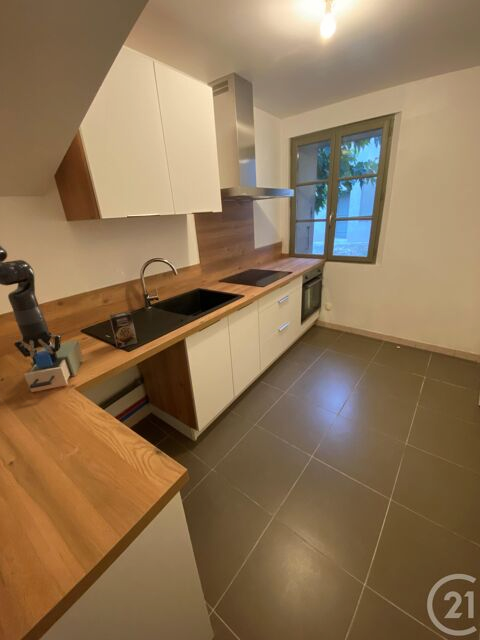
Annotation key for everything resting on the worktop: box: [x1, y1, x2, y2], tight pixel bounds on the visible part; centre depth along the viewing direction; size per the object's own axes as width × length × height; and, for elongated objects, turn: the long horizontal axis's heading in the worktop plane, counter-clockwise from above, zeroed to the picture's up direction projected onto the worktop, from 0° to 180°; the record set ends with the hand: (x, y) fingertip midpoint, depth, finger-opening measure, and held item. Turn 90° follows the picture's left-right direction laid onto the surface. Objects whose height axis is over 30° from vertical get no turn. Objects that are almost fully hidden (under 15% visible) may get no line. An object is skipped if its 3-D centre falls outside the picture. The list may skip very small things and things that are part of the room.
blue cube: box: [34, 350, 53, 368], centre depth 95 cm, size 4×4×4 cm
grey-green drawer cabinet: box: [29, 340, 84, 378], centre depth 106 cm, size 15×13×9 cm
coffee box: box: [108, 310, 138, 349], centre depth 124 cm, size 9×6×16 cm
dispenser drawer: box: [23, 358, 71, 393], centre depth 97 cm, size 18×11×7 cm, turn 18°
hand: (47, 363), depth 96 cm, fingers closed on blue cube, 4 cm apart
